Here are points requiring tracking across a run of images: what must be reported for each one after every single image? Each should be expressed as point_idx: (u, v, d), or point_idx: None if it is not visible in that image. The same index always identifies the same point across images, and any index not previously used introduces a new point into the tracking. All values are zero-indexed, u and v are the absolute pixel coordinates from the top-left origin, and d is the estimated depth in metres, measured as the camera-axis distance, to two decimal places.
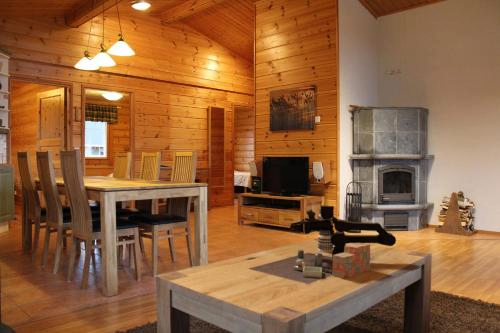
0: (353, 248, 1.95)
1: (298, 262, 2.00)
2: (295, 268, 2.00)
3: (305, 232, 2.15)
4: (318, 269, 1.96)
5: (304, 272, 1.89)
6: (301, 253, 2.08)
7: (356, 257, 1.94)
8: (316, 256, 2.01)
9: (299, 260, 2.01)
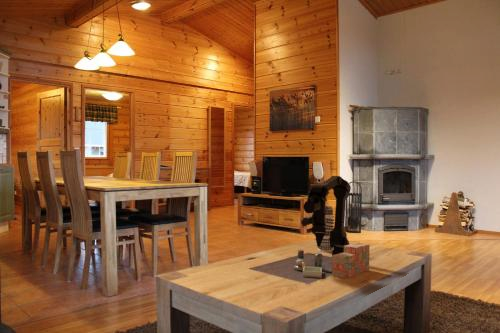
0: (353, 248, 1.94)
1: (298, 262, 2.00)
2: (295, 268, 2.00)
3: (323, 231, 1.93)
4: (318, 269, 1.96)
5: (304, 272, 1.89)
6: (301, 253, 2.08)
7: (356, 257, 1.94)
8: (316, 256, 2.01)
9: (299, 260, 2.01)
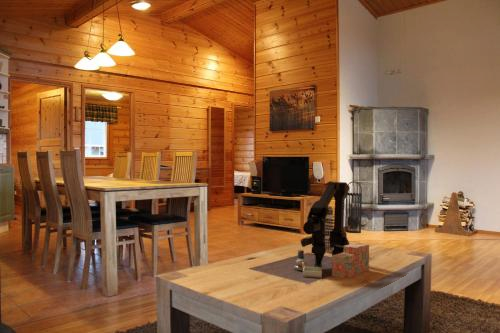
0: (352, 248, 1.94)
1: (298, 262, 2.00)
2: (295, 268, 2.00)
3: (323, 252, 1.93)
4: (318, 269, 1.96)
5: (304, 272, 1.89)
6: (301, 253, 2.08)
7: (355, 257, 1.94)
8: None
9: (299, 260, 2.01)
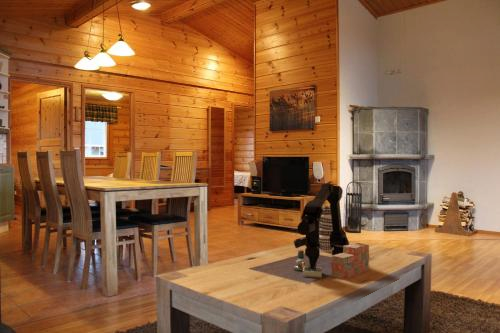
0: (352, 248, 1.94)
1: (298, 262, 2.00)
2: (295, 268, 2.00)
3: (317, 254, 1.83)
4: (318, 269, 1.96)
5: (304, 272, 1.89)
6: (301, 253, 2.08)
7: (355, 257, 1.93)
8: None
9: (299, 260, 2.01)
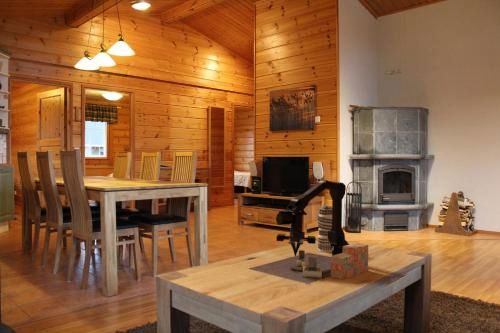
0: (351, 249, 1.93)
1: (298, 262, 2.00)
2: (295, 268, 2.00)
3: None
4: (318, 269, 1.96)
5: (304, 272, 1.89)
6: (302, 253, 2.08)
7: (354, 258, 1.93)
8: (310, 260, 1.91)
9: (299, 260, 2.01)
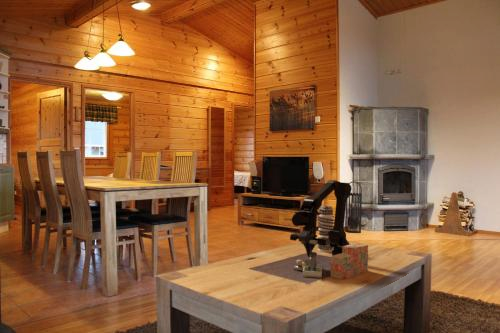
0: (351, 249, 1.93)
1: (296, 261, 2.01)
2: (295, 268, 2.00)
3: (329, 242, 2.04)
4: (318, 269, 1.96)
5: (304, 272, 1.89)
6: (311, 255, 2.04)
7: (354, 258, 1.93)
8: (310, 260, 1.91)
9: (299, 260, 2.02)
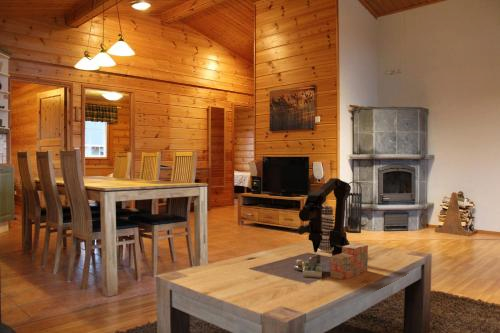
0: (351, 249, 1.93)
1: None
2: (295, 268, 2.00)
3: (320, 239, 1.94)
4: (318, 269, 1.96)
5: (304, 272, 1.89)
6: None
7: (354, 258, 1.92)
8: (310, 260, 1.91)
9: (299, 260, 2.02)
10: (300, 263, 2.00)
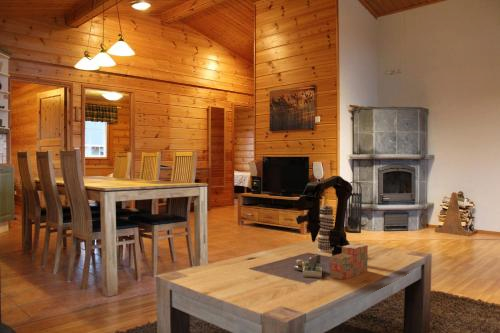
0: (351, 249, 1.93)
1: None
2: (295, 268, 2.00)
3: (318, 228, 1.97)
4: (318, 269, 1.96)
5: (304, 272, 1.89)
6: None
7: (354, 258, 1.92)
8: (310, 260, 1.91)
9: (299, 260, 2.02)
10: (300, 263, 2.00)
